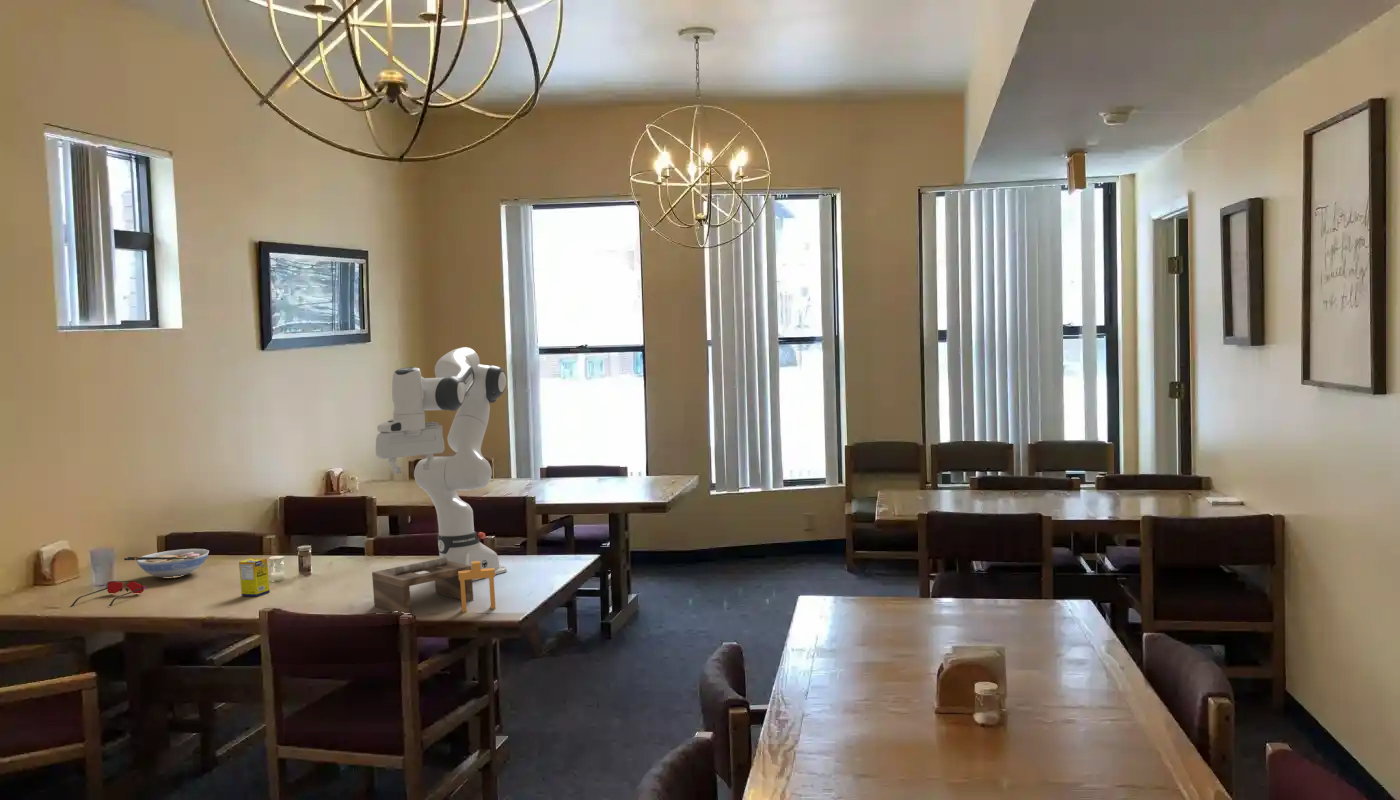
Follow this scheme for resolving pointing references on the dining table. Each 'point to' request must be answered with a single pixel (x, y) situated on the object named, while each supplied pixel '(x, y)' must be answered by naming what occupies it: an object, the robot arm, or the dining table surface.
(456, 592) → the shelf
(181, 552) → the ramen bowl
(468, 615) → the dining table surface
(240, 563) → the supplement box
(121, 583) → the glasses
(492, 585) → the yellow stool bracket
